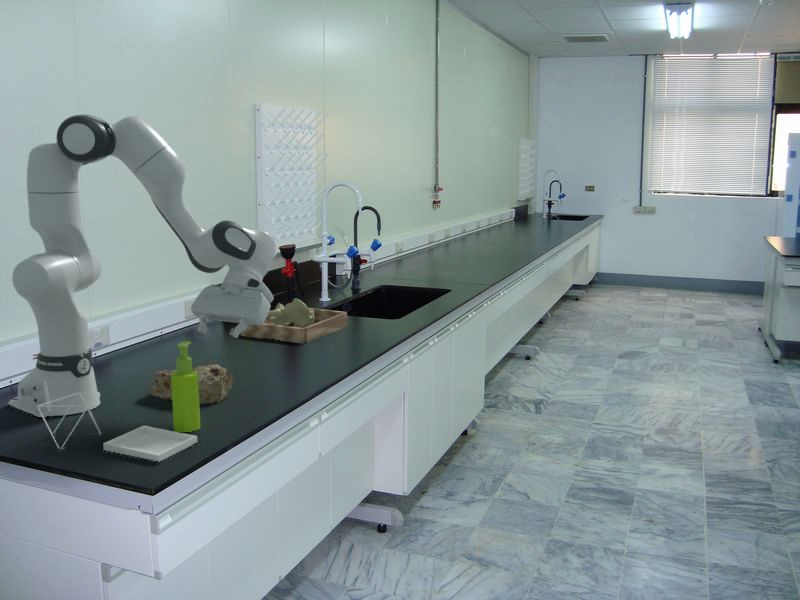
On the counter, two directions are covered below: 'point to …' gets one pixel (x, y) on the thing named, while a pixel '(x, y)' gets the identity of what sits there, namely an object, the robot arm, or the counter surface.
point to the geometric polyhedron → (66, 413)
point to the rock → (210, 382)
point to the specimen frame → (323, 325)
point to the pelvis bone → (292, 314)
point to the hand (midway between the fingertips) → (216, 334)
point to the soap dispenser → (185, 393)
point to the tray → (150, 443)
